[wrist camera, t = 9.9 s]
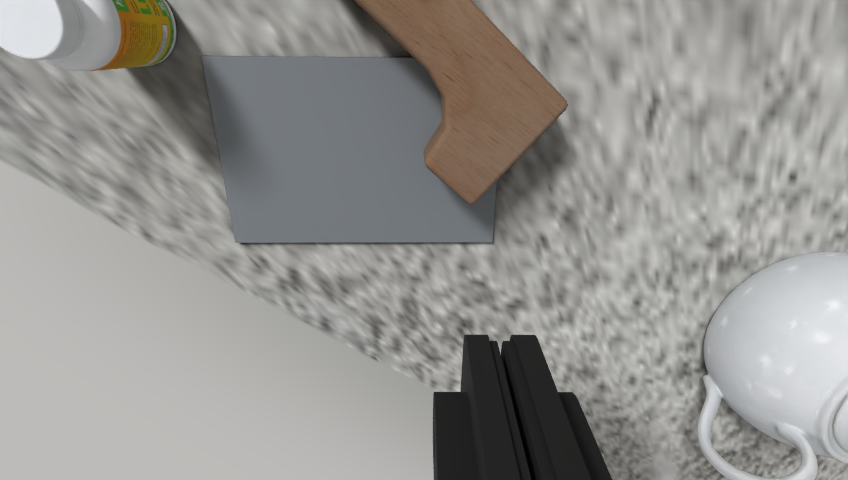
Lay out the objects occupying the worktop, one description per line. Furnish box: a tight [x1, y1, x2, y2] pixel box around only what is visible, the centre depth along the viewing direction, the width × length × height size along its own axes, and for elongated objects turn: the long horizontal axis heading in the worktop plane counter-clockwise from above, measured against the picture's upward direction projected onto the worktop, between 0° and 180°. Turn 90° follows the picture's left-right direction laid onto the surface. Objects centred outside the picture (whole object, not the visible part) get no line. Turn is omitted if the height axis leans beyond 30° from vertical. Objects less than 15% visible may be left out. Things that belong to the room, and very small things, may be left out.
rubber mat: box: [201, 56, 497, 243], centre depth 33 cm, size 21×14×1 cm, turn 90°
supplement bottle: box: [0, 0, 176, 71], centre depth 25 cm, size 5×5×10 cm
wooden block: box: [354, 0, 568, 205], centre depth 28 cm, size 9×4×18 cm
